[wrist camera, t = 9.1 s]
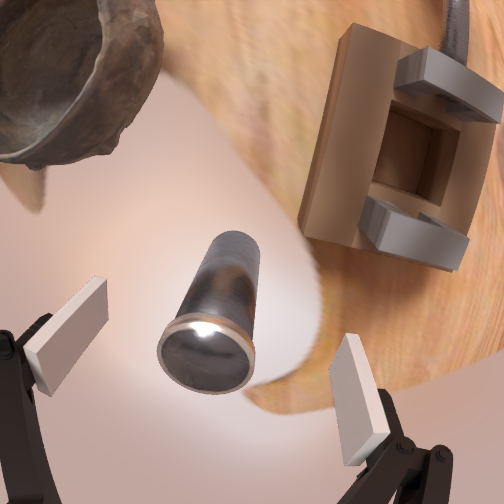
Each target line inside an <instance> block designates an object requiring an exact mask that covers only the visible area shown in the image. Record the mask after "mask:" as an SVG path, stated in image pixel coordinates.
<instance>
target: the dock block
mask: <svg viewBox="0 0 504 504" xmlns="http://www.w3.org/2000/svg"><path fill="white" fill-rule="evenodd" d="M441 93H444V94H446V95H448V96H450V97H452V98H453V99H455V100H457V101H459V102H461V103H454V102H450V101H447V100H444V99H442V98H440V97H438V96H437V95H435V94H441ZM503 104H504V92H502V91H501V90H500V89H498V88H497V87H496V86H494V85H493V84H491V83H490V82H488V81H487V80H485V79H484V78H482V77H481V76H479V75H478V74H476V73H475V72H473V71H472V70H470V69H468V68H467V67H465V66H464V65H462V64H460V63H459V62H457V61H455V60H453V59H452V58H450V57H448V56H446V55H445V54H443V53H441V52H439V51H437V50H435V49H433V48H431V47H429V46H427V47H425V48H423V49H421V50H420V49H418V48H416V47H414V46H412V45H409V44H407V43H405V42H403V41H400V40H398V39H396V38H393V37H391V36H389V35H386V34H384V33H381V32H378V31H376V30H373V29H370V28H368V27H365V26H362V25H359V24H356V23H352V24H351V26H350V27H349V28H348V29H347V31H346V32H345V33H344V34H343V36H342V37H341V38H340V39H339V44H338V48H337V53H336V58H335V63H334V68H333V72H332V77H331V82H330V86H329V91H328V95H327V100H326V104H325V109H324V113H323V117H322V122H321V126H320V130H319V134H318V139H317V143H316V147H315V151H314V155H313V159H312V163H311V167H310V171H309V175H308V179H307V183H306V187H305V191H304V195H303V199H302V203H301V207H300V211H299V214H298V221H299V224H300V228H301V231H302V235H303V236H305V237H310V238H314V239H318V240H323V241H327V242H331V243H335V244H340V245H344V246H348V247H352V248H356V249H361V250H365V251H369V252H373V253H377V254H381V255H385V256H389V257H393V258H397V259H401V260H405V261H409V262H413V263H417V264H421V265H424V266H428V267H432V268H436V269H440V270H444V271H447V272H451V273H452V271H453V270H456V271H457V270H458V268H459V266H460V263H461V261H462V258H463V256H464V253H465V251H466V248H467V246H468V243H469V240H470V239H469V238H468V237H466V236H467V233H468V231H469V228H470V225H471V222H472V219H473V216H474V213H475V210H476V207H477V204H478V200H479V197H480V194H481V190H482V187H483V183H484V179H485V175H486V171H487V167H488V163H489V159H490V154H491V150H492V145H493V140H494V135H495V129H496V123H497V124H501V118H502V111H503ZM389 111H392V112H394V113H397V114H399V115H402V116H404V117H407V118H409V119H411V120H414V121H416V122H418V123H421V124H423V125H425V126H427V127H429V128H432V129H433V131H432V135H431V140H430V144H429V148H428V152H427V156H426V160H425V164H424V168H423V171H422V175H421V179H420V182H419V186H418V189H417V193H416V194H414V193H411V192H408V191H405V190H402V189H399V188H396V187H393V186H390V185H387V184H384V183H381V182H378V181H375V180H372V178H373V174H374V171H375V167H376V163H377V159H378V155H379V152H380V148H381V144H382V139H383V135H384V131H385V127H386V122H387V118H388V113H389Z"/></svg>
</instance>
